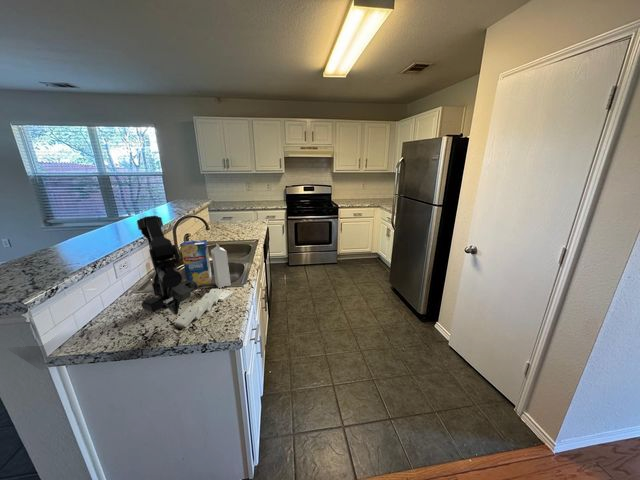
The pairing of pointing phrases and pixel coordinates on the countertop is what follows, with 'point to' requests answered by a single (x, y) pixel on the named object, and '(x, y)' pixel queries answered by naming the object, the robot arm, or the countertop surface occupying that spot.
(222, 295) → the domino
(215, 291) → the domino
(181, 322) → the domino
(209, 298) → the domino
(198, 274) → the blue cardboard box
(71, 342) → the countertop surface
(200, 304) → the domino
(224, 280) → the milk
